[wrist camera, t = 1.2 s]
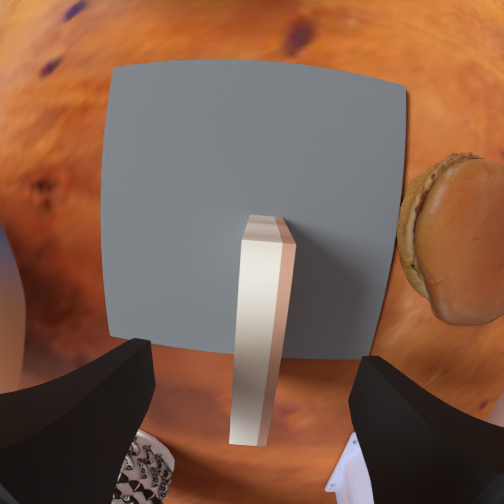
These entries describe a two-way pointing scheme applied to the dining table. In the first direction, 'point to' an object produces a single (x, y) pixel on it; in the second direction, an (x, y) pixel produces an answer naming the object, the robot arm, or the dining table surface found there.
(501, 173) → the burger
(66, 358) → the dining table surface
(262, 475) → the dining table surface
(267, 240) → the tile
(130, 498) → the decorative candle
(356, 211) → the mat
